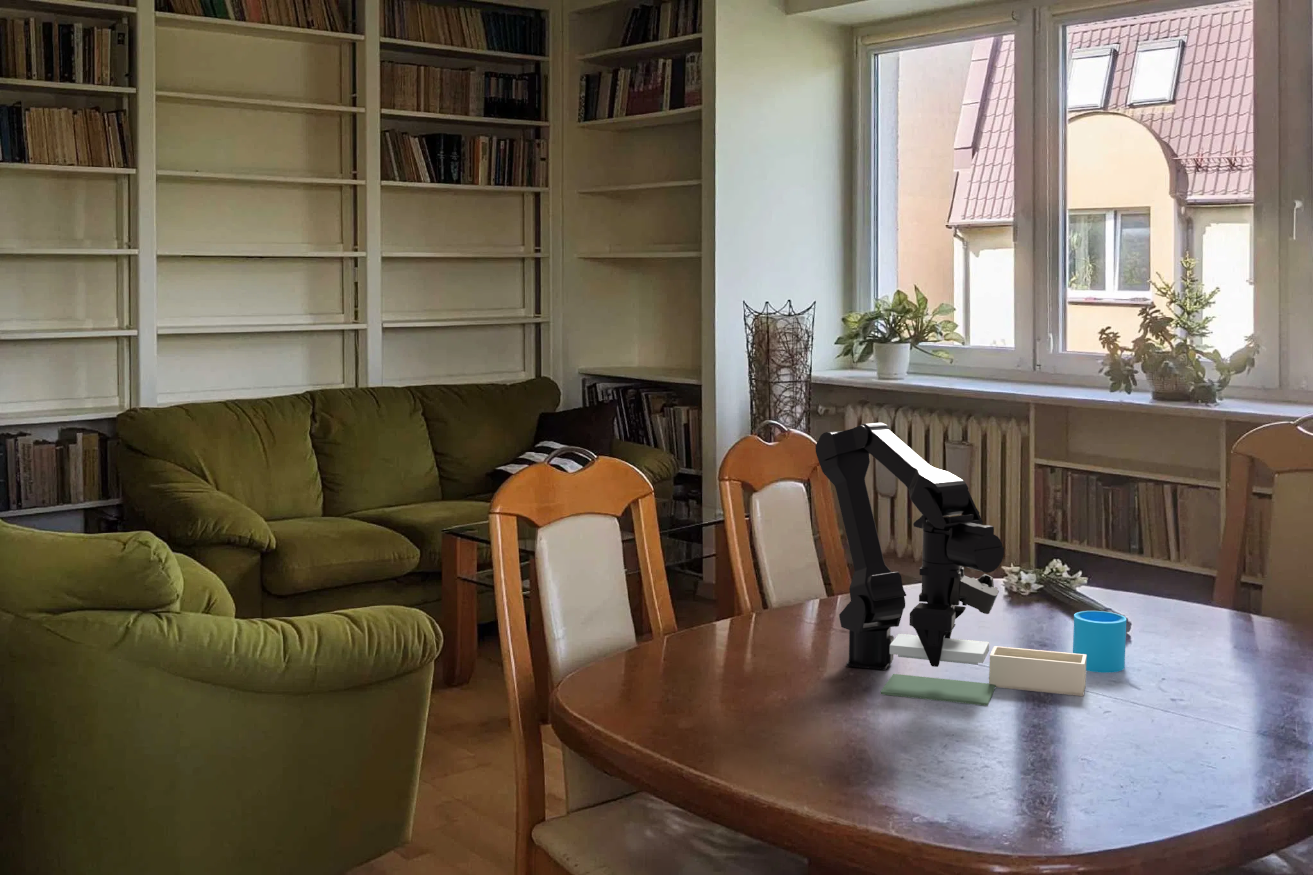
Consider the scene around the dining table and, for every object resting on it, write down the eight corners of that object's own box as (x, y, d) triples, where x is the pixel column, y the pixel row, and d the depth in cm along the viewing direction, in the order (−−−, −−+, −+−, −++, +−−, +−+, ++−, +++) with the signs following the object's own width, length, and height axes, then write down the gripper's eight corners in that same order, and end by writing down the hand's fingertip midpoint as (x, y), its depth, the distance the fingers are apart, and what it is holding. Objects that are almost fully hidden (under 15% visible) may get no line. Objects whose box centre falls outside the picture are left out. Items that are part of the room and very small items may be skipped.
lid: (889, 658, 205) (889, 645, 205) (898, 647, 212) (898, 633, 212) (982, 668, 200) (983, 653, 200) (988, 655, 207) (989, 642, 207)
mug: (1111, 675, 214) (1113, 625, 213) (1063, 666, 220) (1065, 617, 219) (1142, 660, 223) (1144, 612, 222) (1095, 651, 228) (1097, 604, 227)
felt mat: (880, 694, 205) (880, 691, 205) (893, 676, 214) (893, 673, 214) (987, 705, 199) (987, 703, 199) (995, 686, 208) (995, 684, 208)
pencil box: (988, 686, 209) (989, 655, 208) (993, 676, 214) (994, 645, 213) (1083, 696, 204) (1084, 664, 203) (1085, 685, 209) (1086, 654, 208)
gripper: (987, 577, 193) (984, 682, 195) (1002, 552, 210) (999, 649, 212) (909, 571, 197) (907, 674, 199) (931, 547, 214) (929, 642, 216)
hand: (938, 659), depth 206 cm, fingers closed on lid, 7 cm apart
